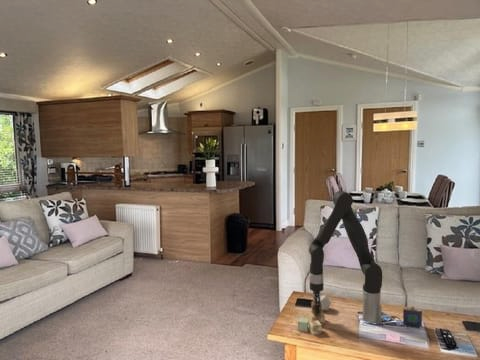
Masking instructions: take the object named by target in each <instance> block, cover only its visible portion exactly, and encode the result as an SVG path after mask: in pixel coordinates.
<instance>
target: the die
mask: <svg viewBox="0 0 480 360" xmlns="http://www.w3.org/2000/svg"><path fill="white" fill-rule="evenodd" d="M320 301H321V304H322V312H323V311H328V310H329V309H330V306H331V304H332V303H331V301H330V299H329V298H328V296H327V295H321V297H320Z"/></svg>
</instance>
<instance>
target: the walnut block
mask: <svg viewBox="0 0 480 360" xmlns="http://www.w3.org/2000/svg"><path fill="white" fill-rule="evenodd" d="M316 305H319V304H316ZM311 311H312V314H322V312H323V311H322V304H321V301H320V307H319V313H315V302H314V300H312V301H311Z"/></svg>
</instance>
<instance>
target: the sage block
mask: <svg viewBox="0 0 480 360" xmlns="http://www.w3.org/2000/svg"><path fill="white" fill-rule="evenodd" d="M308 330H309V317H308V318H307V317H298V320H297V331H298V332H305V333H307V332H308Z"/></svg>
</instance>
